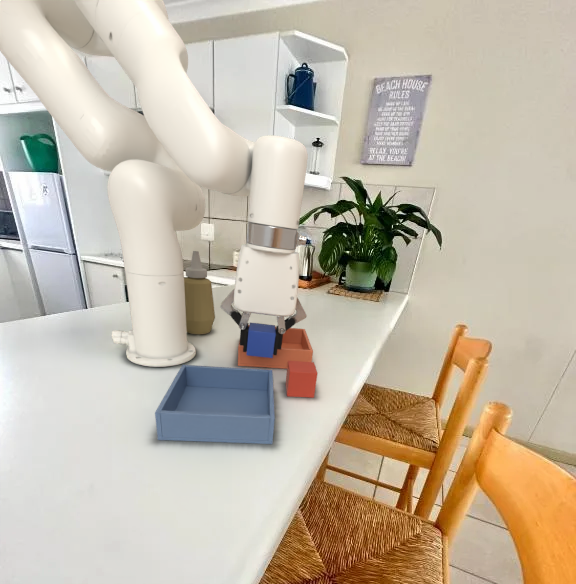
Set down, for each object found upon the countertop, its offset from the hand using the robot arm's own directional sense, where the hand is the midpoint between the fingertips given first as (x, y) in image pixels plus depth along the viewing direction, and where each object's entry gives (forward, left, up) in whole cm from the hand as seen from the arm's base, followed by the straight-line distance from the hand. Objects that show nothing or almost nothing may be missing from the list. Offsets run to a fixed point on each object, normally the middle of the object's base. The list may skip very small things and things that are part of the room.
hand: (260, 349), depth 57 cm
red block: (+7, -5, -5) cm, 10 cm away
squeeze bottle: (-15, +23, -5) cm, 28 cm away
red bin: (+3, +11, -5) cm, 12 cm away
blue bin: (-5, -13, -5) cm, 15 cm away
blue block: (0, 0, 0) cm, 0 cm away
